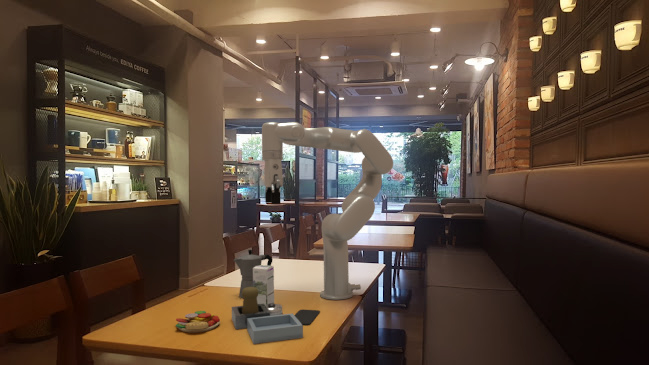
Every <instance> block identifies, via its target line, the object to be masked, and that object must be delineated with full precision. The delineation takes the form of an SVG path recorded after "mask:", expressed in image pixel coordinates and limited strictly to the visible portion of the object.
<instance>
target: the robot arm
mask: <svg viewBox="0 0 649 365" xmlns="http://www.w3.org/2000/svg"><path fill="white" fill-rule="evenodd" d="M283 144H285V145H289V146H295V147H300V148H301V147H304V148H313V149H319V150H329V151H330V150H332V151H339V152H345V153H353V154H355V153H356V154H357V153H358V154H359V153H361V154H362V155H363V159H362V161H361V171H362V176H361V180H360V182H358V184H357V185H356V186H355V188H354V189H352V191H351V192H350V193H349V194H348V195H346V197H345V198H344V199H343V201H342V203H341V210H342V211H341V212H342V213H330V214H327V215H326V216H325V217H324V218H323V219H322V223H321V236H322V246H323V290H321V292H320V293H319V295H320V297H321V298H323V299H325V300H326V299H327V300H332V301H333V300H337V301H338V300H340V301H341V300H346V299H351V298H352V297H353V296H354V292H353V291H354V290H355V291H357V290H361V288H362V287H361V284H356V283H352V284H351V283H350V282H349V277H350V276H349V275H350V274H349V245H348V243H349V242H348V241H350V240H352V239H353V238H354V237H356V235H357V234H358V233H359V232H360V231H362V229H363V228H364V226H366V224H367V223H368V221H369V220H370V219H372V217H373V215H374V212H375V211H376V210H375V209H376V205H375V201H374V200H375V199H376V197H377V196H378V195H379V193H380V191H381V190H382V184H383V177H382V176H383V175H387V174H389V172H391V171H392V169H394V168H393V167H394V160H393V156H391V154H390V152H389V151H388V150H387V149H386V147H385V146H384V144H382V143H381V141H380V140H379V139H378V137H376V135H375V134H374V133H373V132H372V131H370V130H369V129H366V128H363V129H358V130H350V129H344V128H338V127H332V126H324V127H315V128H312V127H311V128H309V127H304V126H303V124H301V123H299V122H297V121H291V122H276V121H275V122H274V121H271V122H270V121H269V122H265V123H263V124H262V126H261V161H263V162H264V165H263V166H264V169H263V170H264V176H263V177H264V186H265V193H264V194H265V195H264V196H265V198H264V200H265V201H264V202H265V203H266V204H271V205H272V204H273V205H281V188H282V187H283V186H284V179H283V164H282V163H283V162H282V161H284V159H283V158H284V154H283V153H284V149H283V148H284V147H283Z"/></svg>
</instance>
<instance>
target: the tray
mask: <svg viewBox="0 0 649 365" xmlns="http://www.w3.org/2000/svg"><path fill="white" fill-rule="evenodd" d="M294 315H295V314H294V313H284V314H283V313H282V315H274V316H265V317H256V318H247V328H246V329H247V333H248V335H249V337H250V339H251V341H252V343H253V344H252V345H257V344H263V343H271V342H280V341H287V340H296V339H302V338H304V325H302V324H301V323H300V322H299V320H298V319H297V318H296V317H295V316H294Z"/></svg>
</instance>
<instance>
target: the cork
mask: <svg viewBox="0 0 649 365" xmlns="http://www.w3.org/2000/svg"><path fill="white" fill-rule="evenodd" d="M257 296H258V289H257V288H255V287H247V288H244V289H243V290H242V297H243V298H244V299H243V298H242V299H243V300H242V302H243V303H242V306H243V309H242V314H247V313H257V312H259V310H258V303H257Z"/></svg>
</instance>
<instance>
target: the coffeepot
mask: <svg viewBox="0 0 649 365" xmlns="http://www.w3.org/2000/svg"><path fill="white" fill-rule="evenodd" d="M247 251H248V254H245V255H242V256H240V257H235V258H234V259H233V262H235V264H236V265H237V268H239V271H240V276H241V281H240V287H239V294H238V297H239V298H240V299H243V300H244V298H243V297H242V290H243V289H244V288H247V287H253V268H254V267H255V266H258V265H262V261H265V260H268V261H267V263H266V265H268V266H272V264H273V257H272V256H271V255H270V254H259V255H257V254H253V249H249V250H247Z"/></svg>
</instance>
